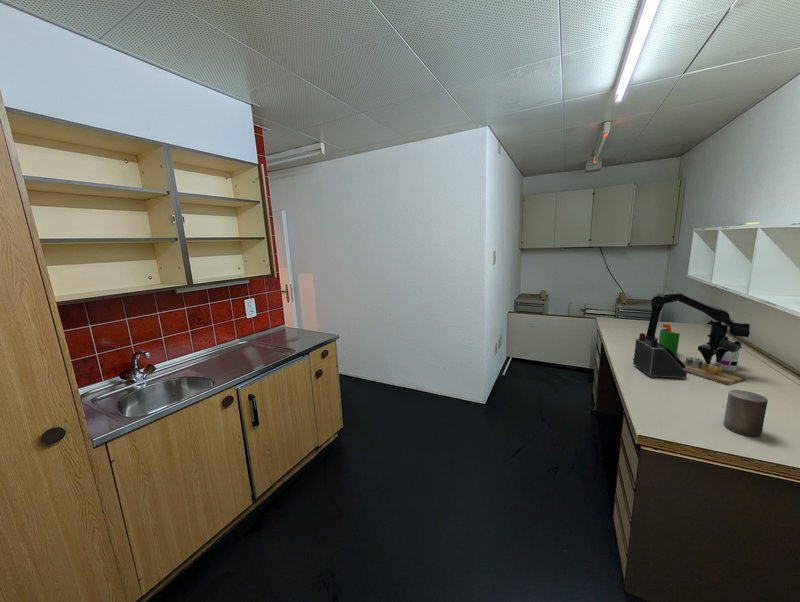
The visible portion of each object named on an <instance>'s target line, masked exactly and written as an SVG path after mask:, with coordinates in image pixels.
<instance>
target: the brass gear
mask: <svg viewBox="0 0 800 602" xmlns="http://www.w3.org/2000/svg"><path fill="white" fill-rule="evenodd" d="M710 363H715V362H712V361H711V362H710ZM702 370H704V371H705V372H709V373H712V374H720V373H721V370H722V365H719V364H718V363H715V365H710V364H706V362H705V361H704V362H703V369H702Z"/></svg>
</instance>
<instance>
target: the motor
mask: <svg viewBox="0 0 800 602" xmlns="http://www.w3.org/2000/svg"><path fill="white" fill-rule="evenodd" d="M680 336H681V333H680V332H679V333H678V332H673V331H672V327H671V324H669V323H663V324H662V328H660V331H659V338H658V343H659V344H661V345H663V346H665V347H667V348H669V349H670V350H671V351H672V352H673V353H674V354H675V355H676V356H677V354H678V349H679V348H678V347H679V342H680Z"/></svg>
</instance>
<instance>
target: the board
mask: <svg viewBox="0 0 800 602" xmlns="http://www.w3.org/2000/svg"><path fill="white" fill-rule="evenodd" d="M693 360H697V357H693ZM681 362H682V363H683V364H684V365H685V363H686V360H685V361H681ZM710 365H715V362H713V363H710ZM685 366H686V367H685V368H683V369H684V370H685V371H686V372H687V374H689V375H692V374H693V375H692V376H695V375H696V377H698V376H699V378H701V377H703V379H705V380H708V381H711V380H712V381H711V382H714V381H715V383H717V384H720V383H721V384H720V385H724V386H731V385H734V384H737V383H740V382H741V383H742V382H744V381H747V378H748V377H747V376H746V375H741V374H739V373H734V372H732V371H727V370H721V373H720V374H712V373H709V372H705V371H704V370H702V369H703V368H700V369H698V368H692V367H688V366H687V365H685Z"/></svg>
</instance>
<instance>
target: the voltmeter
mask: <svg viewBox="0 0 800 602" xmlns="http://www.w3.org/2000/svg"><path fill="white" fill-rule="evenodd" d="M645 336H646V333H643V332H641V333H639V337H638V338H635V347H634V354H633V355H634V356H633V359H634V360H633V363H632V364H633V365H634V366H635V367H636V368H637V369H639V370H641V371H642V372H644V373H645V374H647V375H648V377H649V378H655V377H665V378H675V379H676V380H682V378H683V379H684V378H685V379H686V378H687V376H688V373H687V372H686V371H685V370H684V369H683V368H685V367H686V366H685V365H684V364H683V363H682V362H683V361H682V360H681V359H680V358H679V357H678V356H677V355H675V354H674V353H673V352H672V351H671V350H670V349H669V348H667V347H665V346H663V345H661V344H659V339H658V340H656V339H651V342H650V341H649V340H647V339H645Z"/></svg>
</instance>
